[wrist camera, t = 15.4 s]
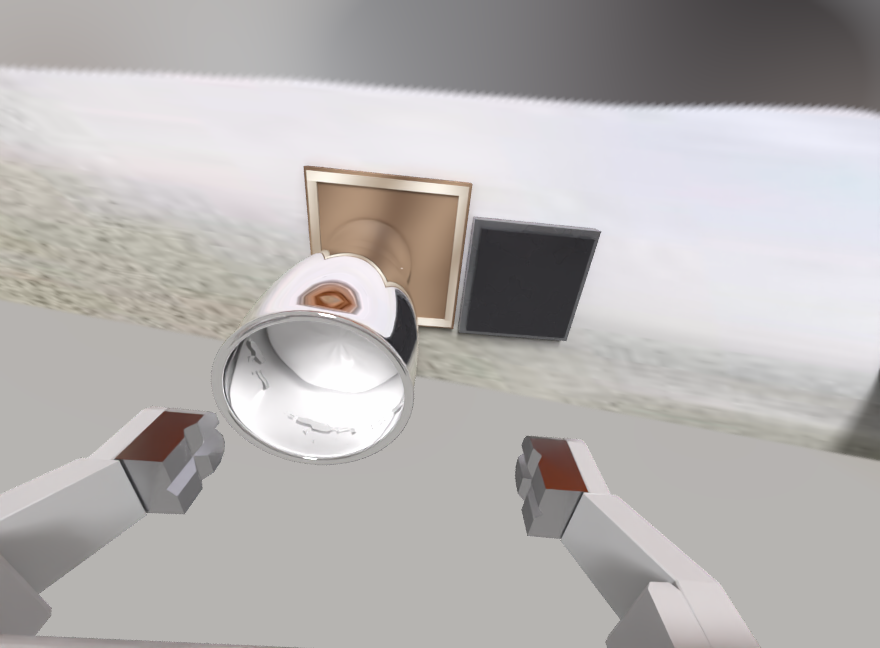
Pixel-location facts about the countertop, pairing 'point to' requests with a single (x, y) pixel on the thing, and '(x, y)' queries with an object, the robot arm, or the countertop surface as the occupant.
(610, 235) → the countertop surface
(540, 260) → the ink pad
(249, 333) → the beer glass
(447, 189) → the board
